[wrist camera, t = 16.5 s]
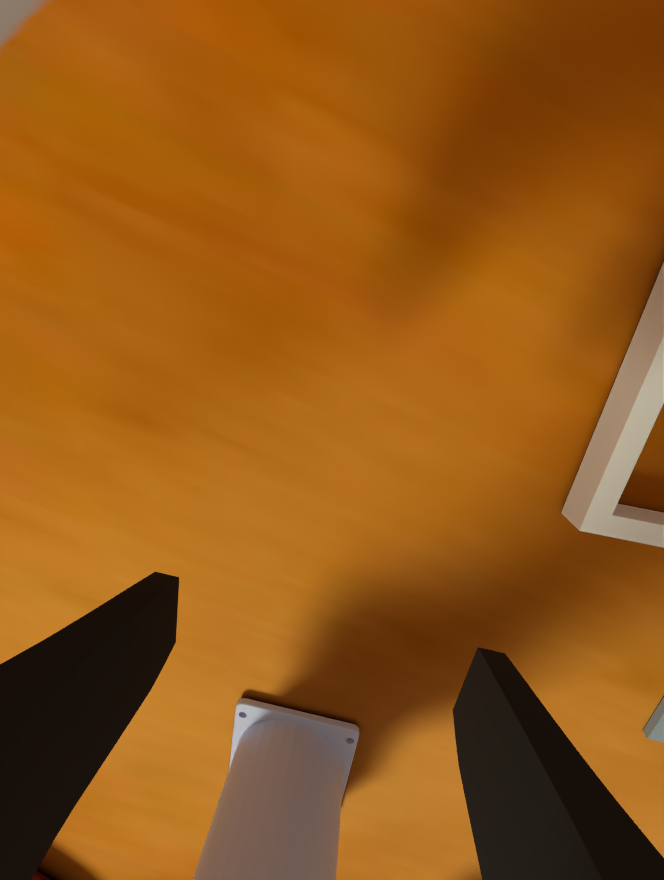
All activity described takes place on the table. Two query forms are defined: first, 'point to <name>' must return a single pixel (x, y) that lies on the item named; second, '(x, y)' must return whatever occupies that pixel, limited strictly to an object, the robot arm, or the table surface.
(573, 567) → the table surface
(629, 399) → the white angled bracket
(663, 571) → the table surface
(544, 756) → the robot arm
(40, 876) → the dish
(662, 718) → the slate pad
